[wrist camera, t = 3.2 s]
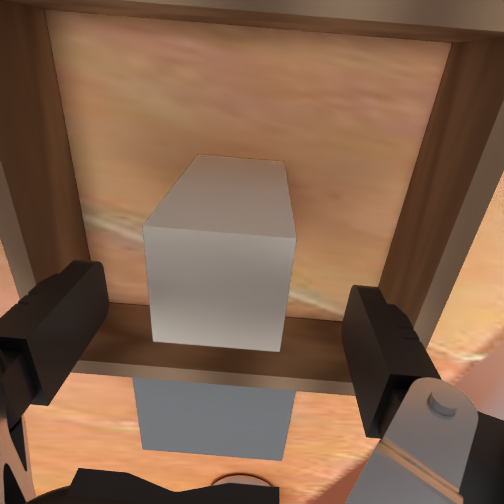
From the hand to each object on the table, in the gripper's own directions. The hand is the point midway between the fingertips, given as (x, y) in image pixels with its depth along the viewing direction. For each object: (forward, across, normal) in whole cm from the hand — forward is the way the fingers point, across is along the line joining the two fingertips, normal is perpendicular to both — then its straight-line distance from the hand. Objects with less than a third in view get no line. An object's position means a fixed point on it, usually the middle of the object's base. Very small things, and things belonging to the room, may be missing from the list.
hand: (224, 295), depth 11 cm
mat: (+9, +1, +17) cm, 19 cm away
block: (+9, 0, 0) cm, 9 cm away
